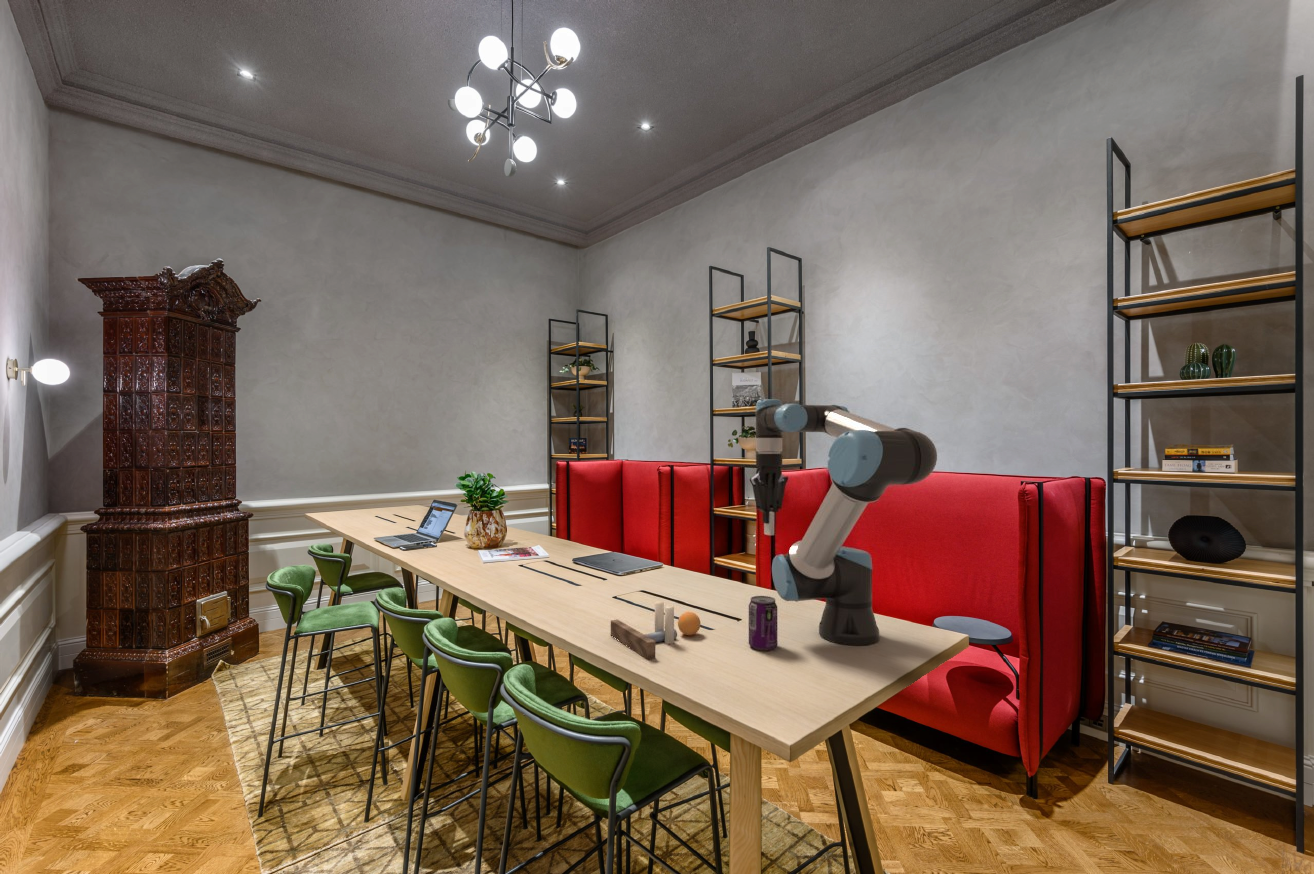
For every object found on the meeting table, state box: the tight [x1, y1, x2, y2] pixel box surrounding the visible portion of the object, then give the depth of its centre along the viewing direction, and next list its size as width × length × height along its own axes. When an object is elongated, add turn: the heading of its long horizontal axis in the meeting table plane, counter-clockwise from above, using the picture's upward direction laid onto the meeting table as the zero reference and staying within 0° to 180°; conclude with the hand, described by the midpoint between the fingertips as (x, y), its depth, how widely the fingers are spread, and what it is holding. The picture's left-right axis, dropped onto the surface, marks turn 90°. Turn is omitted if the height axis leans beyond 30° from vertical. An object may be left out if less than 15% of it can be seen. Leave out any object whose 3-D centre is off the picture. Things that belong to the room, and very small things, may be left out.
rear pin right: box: [654, 601, 665, 633], centre depth 155 cm, size 2×2×9 cm
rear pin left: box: [664, 605, 675, 645], centre depth 150 cm, size 2×2×9 cm
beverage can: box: [748, 595, 779, 651], centre depth 147 cm, size 7×7×12 cm
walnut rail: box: [610, 618, 656, 661], centre depth 148 cm, size 20×2×4 cm, turn 30°
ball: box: [677, 611, 701, 636], centre depth 157 cm, size 6×6×6 cm
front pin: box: [644, 628, 678, 643], centre depth 152 cm, size 2×2×9 cm
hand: (769, 534), depth 171 cm, fingers closed
